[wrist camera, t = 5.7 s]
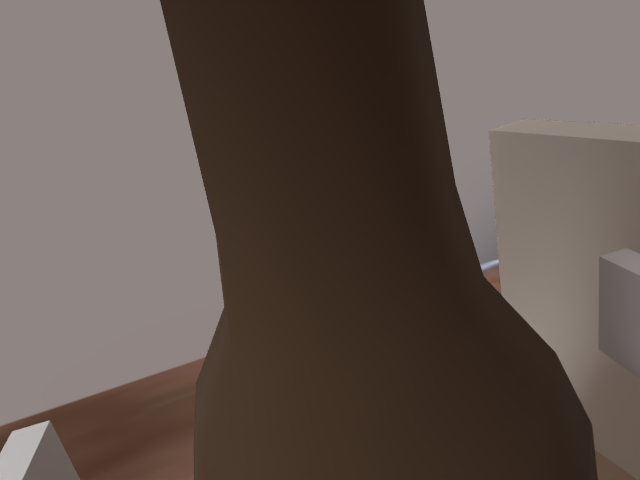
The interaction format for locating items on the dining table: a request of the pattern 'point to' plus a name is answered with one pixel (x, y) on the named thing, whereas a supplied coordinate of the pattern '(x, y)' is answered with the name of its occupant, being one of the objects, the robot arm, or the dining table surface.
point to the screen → (572, 257)
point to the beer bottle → (352, 262)
